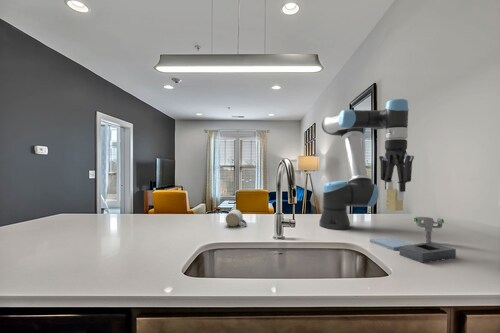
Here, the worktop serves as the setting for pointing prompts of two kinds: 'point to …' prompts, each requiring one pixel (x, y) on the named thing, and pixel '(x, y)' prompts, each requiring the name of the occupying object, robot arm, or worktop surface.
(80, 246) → the worktop surface
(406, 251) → the grey recessed block
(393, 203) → the brass block
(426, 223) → the mechanical component
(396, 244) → the blue mat
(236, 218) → the ceramic mug
